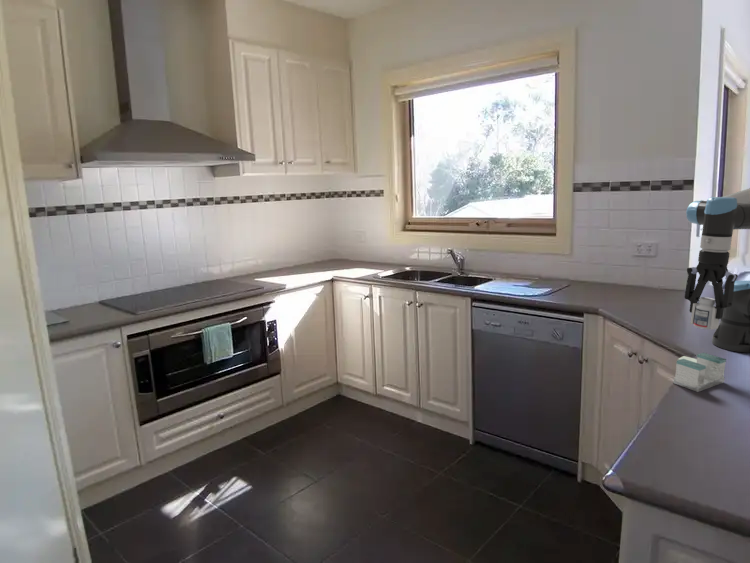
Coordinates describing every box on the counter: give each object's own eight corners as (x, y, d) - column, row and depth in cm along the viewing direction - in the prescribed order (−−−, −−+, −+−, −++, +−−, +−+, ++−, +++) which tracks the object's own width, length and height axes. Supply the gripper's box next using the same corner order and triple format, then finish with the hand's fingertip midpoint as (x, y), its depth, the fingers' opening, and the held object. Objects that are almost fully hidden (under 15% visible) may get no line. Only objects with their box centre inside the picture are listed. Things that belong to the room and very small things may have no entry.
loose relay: (682, 367, 164) (683, 355, 163) (699, 372, 160) (701, 360, 159) (676, 371, 162) (677, 358, 161) (694, 375, 158) (695, 363, 157)
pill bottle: (706, 324, 161) (710, 296, 159) (717, 329, 156) (722, 300, 154) (689, 324, 161) (693, 296, 159) (700, 329, 156) (704, 300, 154)
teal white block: (699, 374, 158) (702, 352, 157) (724, 382, 152) (727, 359, 151) (673, 383, 152) (675, 360, 151) (697, 392, 146) (700, 368, 145)
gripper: (676, 246, 160) (667, 320, 164) (740, 255, 144) (728, 336, 149) (691, 245, 163) (682, 317, 168) (755, 253, 147) (743, 332, 152)
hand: (703, 325), depth 158 cm, fingers closed on pill bottle, 5 cm apart
